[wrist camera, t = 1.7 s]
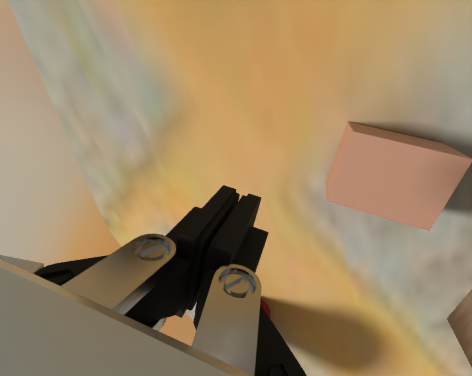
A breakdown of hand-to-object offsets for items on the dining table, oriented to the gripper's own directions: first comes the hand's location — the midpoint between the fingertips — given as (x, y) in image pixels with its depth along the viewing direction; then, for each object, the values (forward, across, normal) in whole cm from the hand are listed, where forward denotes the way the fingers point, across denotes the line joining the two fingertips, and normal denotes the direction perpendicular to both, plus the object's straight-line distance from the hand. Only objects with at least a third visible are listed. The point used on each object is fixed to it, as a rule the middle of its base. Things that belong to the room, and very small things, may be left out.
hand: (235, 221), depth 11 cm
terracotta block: (+17, -9, 0) cm, 19 cm away
